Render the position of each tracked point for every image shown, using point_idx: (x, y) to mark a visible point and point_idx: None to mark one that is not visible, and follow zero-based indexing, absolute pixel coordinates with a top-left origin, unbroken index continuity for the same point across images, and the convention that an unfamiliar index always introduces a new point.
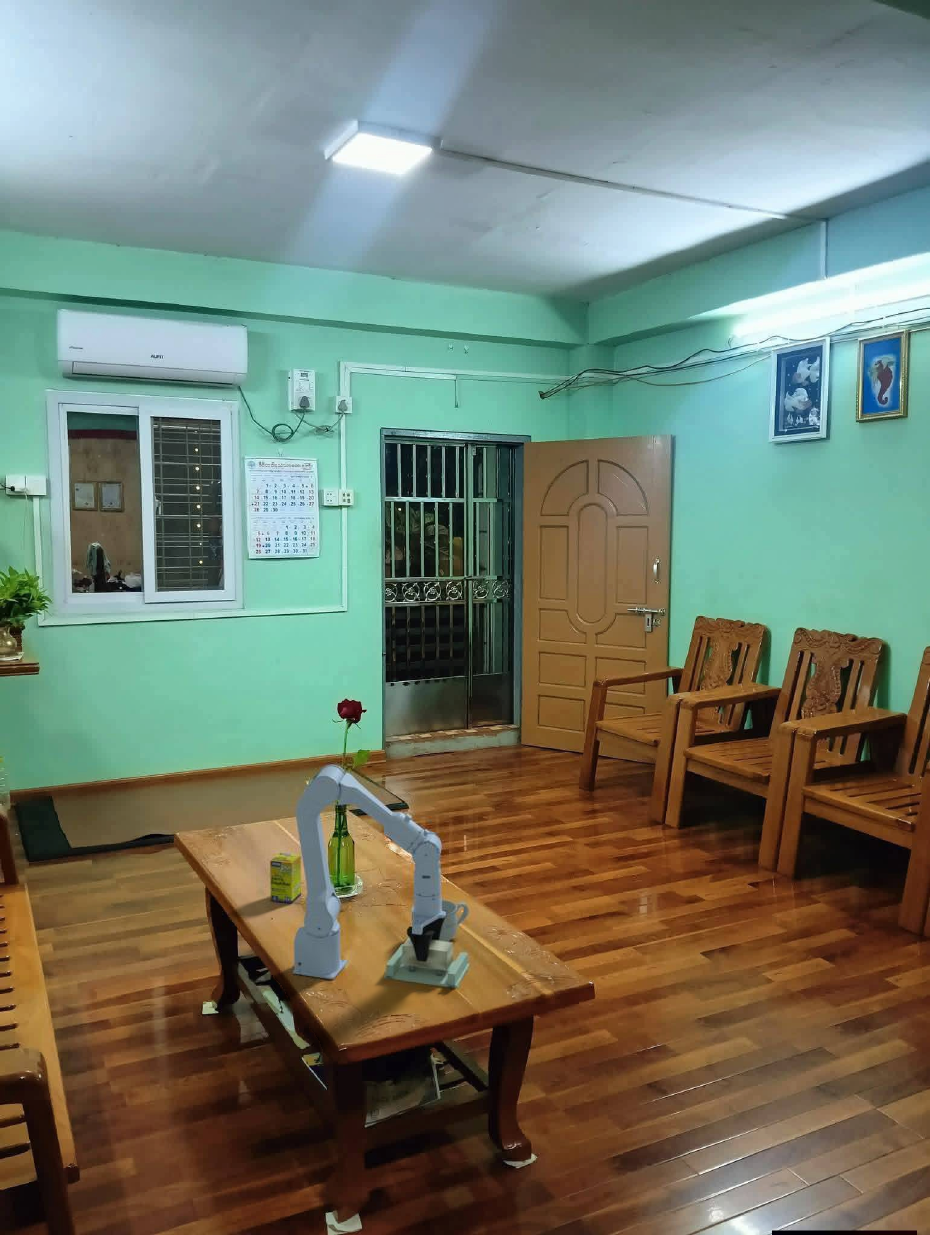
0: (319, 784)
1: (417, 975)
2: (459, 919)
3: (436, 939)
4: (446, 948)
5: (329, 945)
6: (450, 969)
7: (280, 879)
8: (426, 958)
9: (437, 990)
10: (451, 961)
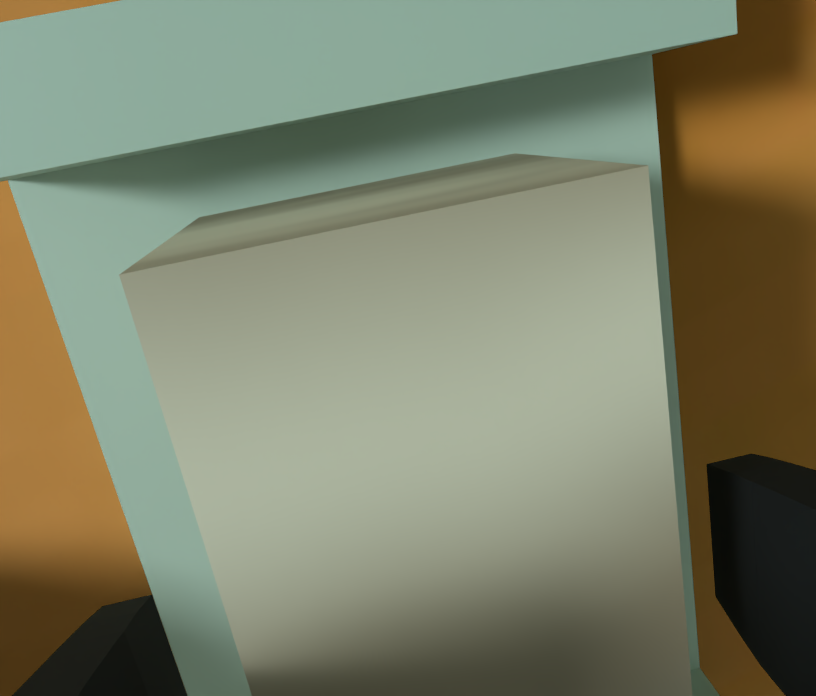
0: None
1: None
2: None
3: (123, 689)
4: (497, 264)
5: None
6: (603, 51)
7: None
8: (798, 469)
9: (743, 137)
10: (284, 203)
